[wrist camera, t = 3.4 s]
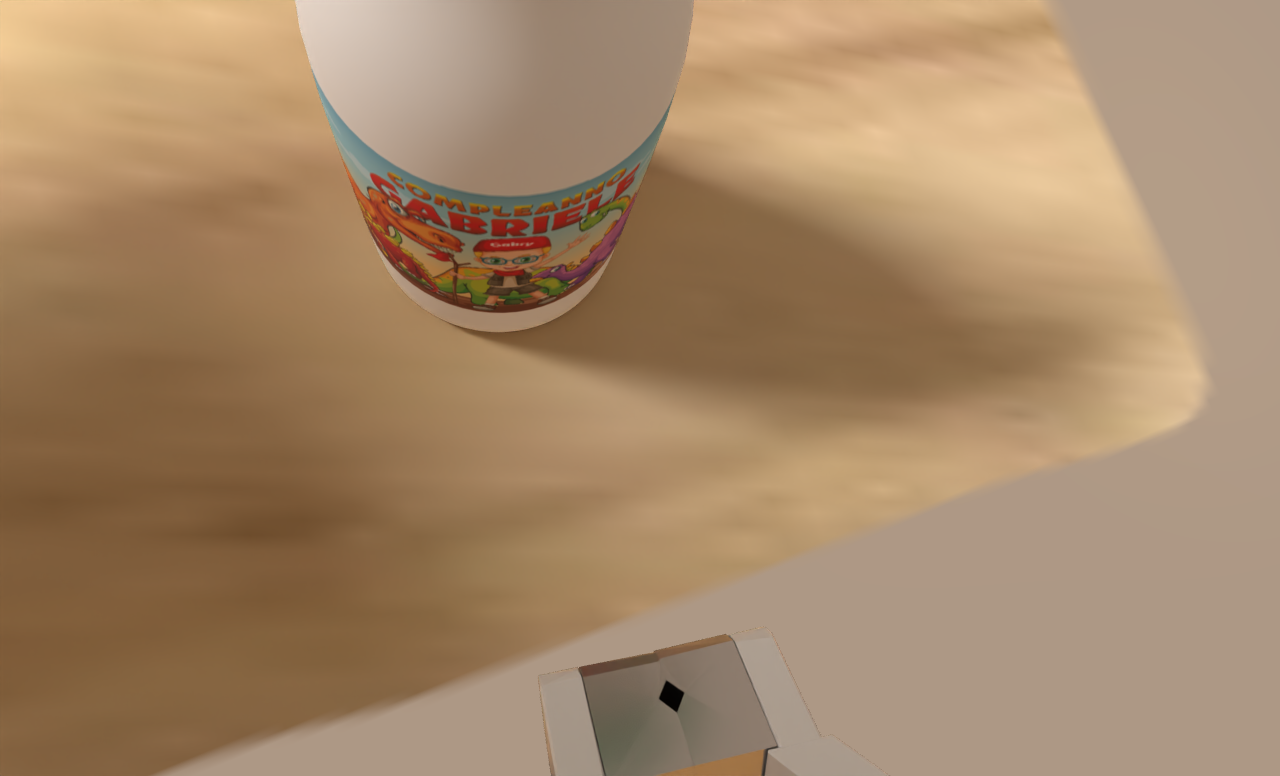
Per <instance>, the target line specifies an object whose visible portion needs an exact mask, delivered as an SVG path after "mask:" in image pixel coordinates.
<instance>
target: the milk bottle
mask: <svg viewBox="0 0 1280 776" xmlns="http://www.w3.org/2000/svg"><path fill="white" fill-rule="evenodd" d="M295 2H296V9H297V15H298V21H299V26H300V31H301V34H302V38H303V41H304V45H305V48H306V52H307V55H308V58H309V62H310V65H311V69H312V72H313V75H314V79H315V82H316V86H317V89H318V92H319V96H320V99H321V102H322V104H323V107H324V110H325V113H326V116H327V118H328V121H329V124H330V127H331V130H332V132H333V135H334V138H335V141H336V144H337V146H338V149H339V152H340V155H341V157H342V160H343V163H344V166H345V168H346V171H347V174H348V176H349V179H350V182H351V184H352V187H353V190H354V192H355V195H356V197H357V200H358V203H359V205H360V208H361V211H362V213H363V216H364V218H365V221H366V224H367V226H368V229H369V231H370V234H371V236H372V239H373V241H374V244H375V246H376V249H377V251H378V253H379V255H380V257H381V259H382V261H383V263H384V265H385V267H386V269H387V271H388V272H389V274H390V275H391V277H392V278H393V280H394V281H395V282H396V283H397V285H398V286H399V287H400V288H401V289H402V291H403V292H404V293H405V294H406V295H407V296H408V297H409V298H410V299H412V300H413V301H414V302H415V303H417V304H418V305H419V306H420V307H422V308H423V309H425V310H426V311H428V312H429V313H431V314H433V315H434V316H436V317H438V318H440V319H442V320H444V321H447V322H449V323H452V324H454V325H457V326H461V327H464V328H468V329H473V330H477V331H486V332H511V331H519V330H524V329H529V328H532V327H536V326H539V325H542V324H544V323H547V322H550V321H552V320H554V319H556V318H558V317H560V316H561V315H563V314H564V313H566V312H568V311H569V310H571V309H572V308H573V307H574V306H576V305H577V304H578V303H579V302H580V301H581V300H582V299H584V298H585V297H586V296H587V295H588V293H589V292H590V291H591V290H592V289H593V288H594V286H595V285H596V283H597V282H598V280H599V279H600V277H601V276H602V274H603V272H604V270H605V268H606V266H607V264H608V263H609V261H610V259H611V256H612V254H613V252H614V249H615V247H616V244H617V242H618V240H619V237H620V235H621V232H622V230H623V228H624V225H625V223H626V220H627V218H628V215H629V213H630V210H631V208H632V206H633V203H634V201H635V198H636V196H637V193H638V191H639V188H640V186H641V183H642V181H643V178H644V176H645V173H646V171H647V168H648V165H649V163H650V160H651V158H652V155H653V152H654V150H655V147H656V145H657V142H658V140H659V137H660V134H661V132H662V129H663V127H664V124H665V121H666V119H667V116H668V112H669V109H670V106H671V103H672V100H673V97H674V94H675V91H676V87H677V84H678V81H679V78H680V75H681V72H682V68H683V65H684V61H685V57H686V52H687V46H688V40H689V34H690V29H691V23H692V17H693V4H694V0H295Z"/></svg>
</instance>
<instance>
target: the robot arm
mask: <svg viewBox="0 0 1280 776" xmlns="http://www.w3.org/2000/svg"><path fill="white" fill-rule="evenodd" d="M538 681H539V689H540V697H541V705H542V713H543V721H544V729H545V736H546V744H547V751H548V758H549V765H550V771H551V776H889V775H888V774H887V773H885V772H884V771H882V770H881V769H880V768H878V767H877V766H876V765H874V764H873V763H871V762H870V761H869V760H867V759H866V758H864V757H863V756H862V755H860V754H859V753H858V752H856V751H855V750H853V749H852V748H851V747H849V746H848V745H846V744H845V743H843V742H842V741H841V740H840V739H838V738H837V737H835V736H834V735H828V736H823V737H821V734H820V732H819V730H818V728H817V726H816V724H815V722H814V720H813V718H812V716H811V714H810V711H809V709H808V707H807V705H806V703H805V701H804V699H803V697H802V695H801V693H800V691H799V688H798V686H797V684H796V682H795V680H794V678H793V676H792V674H791V672H790V670H789V668H788V665H787V663H786V661H785V659H784V657H783V655H782V653H781V651H780V649H779V647H778V645H777V642H776V640H775V638H774V636H773V634H772V633H771V632H770V631H769V630H768V629H767V628H766V627H759V628H755V629H751V630H747V631H742V632H739V633H735V634H730V635H726V634H724V635H719V636H715V637H711V638H706V639H702V640H698V641H694V642H690V643H685V644H682V645H677V646H672V647H669V648H664V649H660V650H656V651H654V652H653V653H648V654H642V655H637V656H633V657H628V658H622V659H617V660H612V661H607V662H603V663H597V664H593V665H587V666H582V667H579V668H578V667H575V668H571V669H566V670H561V671H557V672H553V673H548V674H543V675H539V676H538Z"/></svg>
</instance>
